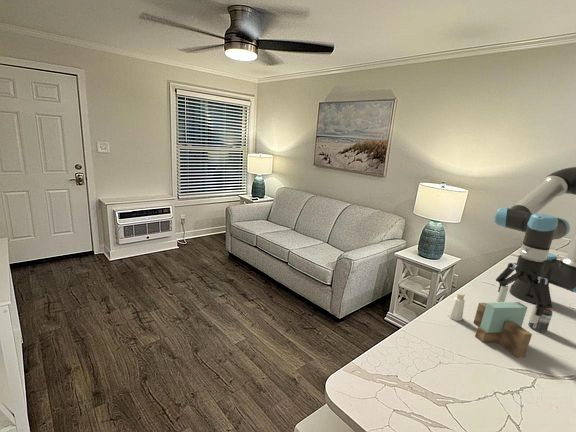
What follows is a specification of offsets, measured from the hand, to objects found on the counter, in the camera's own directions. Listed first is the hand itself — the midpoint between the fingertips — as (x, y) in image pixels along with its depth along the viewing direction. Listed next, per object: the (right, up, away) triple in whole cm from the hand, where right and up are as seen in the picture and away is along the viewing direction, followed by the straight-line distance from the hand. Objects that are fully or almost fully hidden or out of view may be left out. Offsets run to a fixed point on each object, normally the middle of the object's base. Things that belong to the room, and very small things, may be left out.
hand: (515, 311), depth 114 cm
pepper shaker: (-15, -7, +14) cm, 22 cm away
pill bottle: (+17, -11, +11) cm, 23 cm away
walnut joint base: (-6, -11, +2) cm, 12 cm away
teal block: (-5, -7, +1) cm, 9 cm away
